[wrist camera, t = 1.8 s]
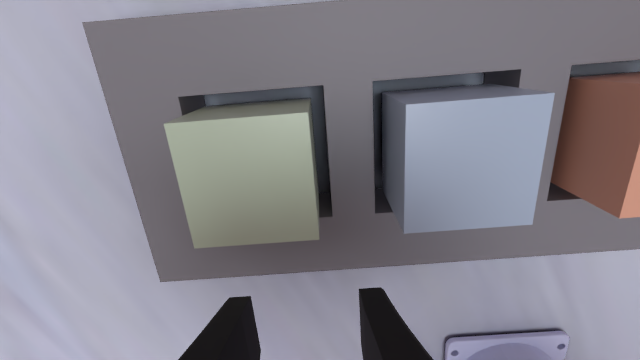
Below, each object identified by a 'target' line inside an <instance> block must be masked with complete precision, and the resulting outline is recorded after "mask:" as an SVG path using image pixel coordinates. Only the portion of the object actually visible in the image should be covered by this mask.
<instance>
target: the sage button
mask: <svg viewBox="0 0 640 360" xmlns="http://www.w3.org/2000/svg"><path fill="white" fill-rule="evenodd" d="M164 128H165V132H166V136H167V140H168V144H169V148H170V152H171V156H172V160H173V164H174V168H175V172H176V176H177V180H178V184H179V188H180V193H181V197H182V201H183V205H184V209H185V213H186V217H187V221H188V225H189V229H190V233H191V237H192V241H193V245H194V249H195V248H209V247H223V246H237V245H251V244H266V243H280V242H294V241H308V240H319V190H318V179H317V167H316V155H315V143H314V132H313V120H312V108H311V98H304V99H292V100H279V101H267V102H254V103H242V104H229V105H217V106H205V107H202V108H200V109H198V110H195V111H193V112H190V113H188V114H186V115H183V116H181V117H179V118H176V119H174V120H171V121H169V122H167V123H164Z"/></svg>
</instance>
